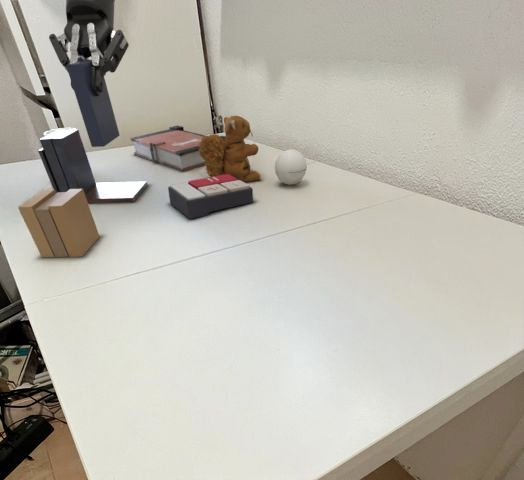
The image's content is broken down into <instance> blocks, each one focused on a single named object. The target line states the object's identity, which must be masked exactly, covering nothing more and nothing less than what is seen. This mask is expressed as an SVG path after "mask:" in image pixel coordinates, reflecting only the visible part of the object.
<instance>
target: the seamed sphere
mask: <svg viewBox="0 0 524 480" xmlns="http://www.w3.org/2000/svg"><path fill="white" fill-rule="evenodd" d="M314 163H315V161H312V162H308V163H307V159H306V158H305V156H304V155H303V154H302V152H300V151H298V150H297V149H293V148H292V149H286V150H284V151H282V152H281V153H280V154H279V155H278V156H277V158H276V160H275V164H274V173H275V175H276V177H277V179H278V180H279V181H280V182H281V183H282V184H285V185H289V186H293V185H296V184H298V183H300V182H301V181H302V180H303V179H304V177H305V176H306V173H307V168H308V167H307V165H309V164H314Z"/></svg>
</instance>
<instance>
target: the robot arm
mask: <svg viewBox="0 0 524 480" xmlns="http://www.w3.org/2000/svg"><path fill="white" fill-rule="evenodd" d="M115 2H116V0H65V15H66V25H65V26H64V28H63V33H62V34H60V35H58V36H57V35H56V34H55V33H51V34H50V35H49V36H48V39H49V41H50V44H51V45H52V48H53V50H54V52H55V54H56V56H57V59H58V60H59V63H60V64H61V66H62V67H63V68H64V70H65V71H66V72H67V73H68V70H67V67H66V65H67V64H71V63H75V62H79V61H83V60H90V58H91V59H92V64H93V67H91V80H90V87H91V90H92V91H93V93H94V94H95V95H96V96H100V95H101V92H103V89H104V78H105V76H106V75H107V73H109V72H110V73H113V74H114V73H115V72H116V71H117V69H118V67H119V65H120V63H121V62H122V59H123V58H124V56H125V54H126V52H127V50H128V48H129V42H128V40H127V37H126V35H125V33H124V32H123V30H121V29H117V30H116V31H115V30H114V29H115V27H114V26H115V25H114V23H115ZM69 43H70V47H69V46H68V45H69ZM69 51H70V57H69V55H68V53H69ZM70 87H71V89H72V90H73V91H74V89H73V86H72V82H71V81H70Z"/></svg>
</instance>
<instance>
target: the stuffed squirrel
mask: <svg viewBox="0 0 524 480" xmlns="http://www.w3.org/2000/svg"><path fill="white" fill-rule="evenodd" d="M223 123H224V134H225V136H226V137H225V141H224V140H223V139H222V138H221V137H220V136H221V135H219V134H216V133H212V134H209V135H205V134H204V135H205V136H204V137H202V138H201V141H200V142H199V143H197V144H198V145H199V146H200V149H199V151H198V152H199V154H200V156H201V157H202V158H203V159H204V160H205V161H204V163H205V165H204V166H205V171H206V173H207V175H208V176H209V177H214V176H220V175H225V174H229V175H231V176H233V177H235V178H237V179H238V180H240V181H242V182H244V183H247V182H248V183H249V182H255V181H256V182H257V181H259V180H260V179H261V173H259V172H258V171H256V170H252V171H251V168H252V167H251V163H250V160H249V158H248V157H252V156H253V157H254V156H255V155H256V156H257V154H258V152H259V146H258V145H257V144H256V143H252V144H250V143H246V141H245V139H247V138H248V137H249V136H250V135H251V137H254V136H253V135H254V134H253V132H252V130H251V124H250V122H249V120H247V119H246V118H244V117H242V116H240V115H231V116H229V117H228V116H225V117H224V118H223Z"/></svg>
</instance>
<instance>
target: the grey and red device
mask: <svg viewBox="0 0 524 480" xmlns="http://www.w3.org/2000/svg"><path fill="white" fill-rule="evenodd" d="M167 190H168V197H169V198H168V199H169V203H170V204H171V205H172V206H173V207H174V208H175V209H176V210H178V211H179V212H180V213H181V214H183V215H184V216H185V217H187V219H190V220H192V219H197V218H201V217H206V216H208V215H209V214H210V213H211V212H216V211H220V210H224V209H229V208H233V207H237V206H243V205H247V204H251V203H253V202H254V193H253V192H254V191H253V190H254V189H253V187H251V186H250V184H248V183H247V182H242V181H240V180H238V179H237V178H235V177H233V176H231V175H229V174H225V175H220V176H214V177H210V176H209V177H203V178H197V179H192V180H188V182H180V183H175V184H170V185H169V186H167Z"/></svg>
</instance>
